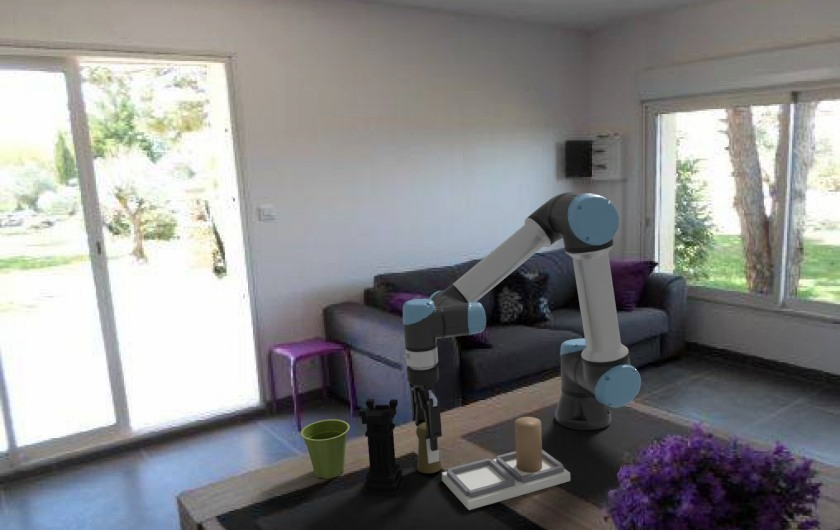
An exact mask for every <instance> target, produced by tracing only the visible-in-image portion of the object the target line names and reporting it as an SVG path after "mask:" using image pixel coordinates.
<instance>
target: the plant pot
mask: <svg viewBox="0 0 840 530" xmlns="http://www.w3.org/2000/svg"><path fill="white" fill-rule="evenodd" d="M350 428H351V427H350V424H349V423H348V422H347V421H344V420H341V419H324V420H319V421H315V422H312V423H309V424H308V425H306V426H305V427H303V428H302V429H301V431H300V435H301V437H302V438H303V440H304V443H305V445H306V447H307V451H308V454H309V458H310V460H311V465H312V468H313V472H314V475H315V477H317V478H322V479H326V480H327V479H332V478H336V477H339V476H340V475H341V474H342V473H344V471H345V464H346V463H345V460H346V448H347V447H346V446H347V439H348V438H347V437H348V432H349V430H350Z"/></svg>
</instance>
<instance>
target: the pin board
mask: <svg viewBox="0 0 840 530" xmlns="http://www.w3.org/2000/svg"><path fill="white" fill-rule="evenodd" d="M514 432H515V434H514V435H515V450H514V451H511V452H506V453H504V454H499V455H496V456H495V458H493V459H491V458H490V457H488V458H483V459H479V460H476V461H473V462H472V461H471V462H469V463H464V464H461V465H457V466H456V465H455V466H453V467H449V468H447V469H446V471H442V472H441V482H443V483H444V484H445V485H446V487H447V488H448V489H449V490H450V491H451V492H452V494H453V495H455V497H456V498H457V499H458V500H459V501H460V502H461V503H462V504H463V505H464V507H465V508H466V509H467V510H468V511H471V510H474V509H478V508H481V507H484V506H487V505H492V504H496V503H498V502H502V501H505V500H506V501H507V500H509V499H512V498H516V497H520V496H523V495H526V494H530V493H534V492H536V491H540V490H544V489H547V488H551V487H554V486H557V485H560V484H564V483H567V482H571V472H570V471H568V470H567V469H566V468H565V466H564V464H563V463H562V462H561V461H559V460H558V459H556V458H554V457H553V456H552V455H550V454H549V453H548V452H547V451H545V450H544V449H543V446H542V445H543V443H542V442H543V441H542V439H543V438H542V421H541V420H540V419H539V418H537V417H534V416H533V417H532V416H523V417H519V418H517V419H515V421H514Z"/></svg>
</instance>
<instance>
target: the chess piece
mask: <svg viewBox="0 0 840 530" xmlns="http://www.w3.org/2000/svg"><path fill="white" fill-rule="evenodd" d="M388 403H389V404H376V403H375V398H367V399H366V401H365V407H366V408H365V407H364V408H363V407H362V408H360V409H358V417H360V418H361V425H366V430H365V433H364V436H365V438H367V448H368V460H369V463H368V464H369V471H368V473H366V474H367V475H365V476H366V477H365V482H364V487H363V490H362V496H363V495H365V496H381V497H382V496H383V497H398V495H399V493H400V490H401V488H402V487H403V484H404V482H405V479H406V477H405V475H403V469H400V468H401V464H398V463H396V451H395V440H394V439H395V438H394V437H395V436H394V429H395V428H396V424H395V423H393V422H394V421H393V420H394V418H395V416H396V415H397V406H398V405H399V401H398V399H390V400H389V402H388ZM403 481H404V482H403Z"/></svg>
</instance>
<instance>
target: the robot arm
mask: <svg viewBox="0 0 840 530" xmlns="http://www.w3.org/2000/svg"><path fill="white" fill-rule="evenodd" d="M619 225H620V216H619V213H618V210H617V207H616V206H615V205H614V203H613V202H612V201H611V200H609V199H608V198H606V197H604V196H602V195H599V194H596V193H590V192H585V193H584V192H581V193H580V192H563V193H560V194H557V195H555V196H554V197H551V198H550V199H548V200H547V201H546V202H545V203H544V204H541V206H539V207H538V208H537V209H535V210H534V211H533V212H532V213H531V214H530V215H529V216H527V217H526V218H525V219H524V224H523V225H522V226H521V227H520V228H518V230H516V231H515V232H513V234H511V235H510V236H509V237H508V238H506V239H505V240H504V241H503V242H502V243H500V244H499V245H498V246H497V247H496V248H495V249H493V250H492V251H491V252H490V253H488V254H487V255H486V256H484V258H482V259H481V260H480V261H479V262H478V263H476V264H475V265H474V266H473V267H471V268H470V269H469V270H468V271H467V272H465V273H464V274H463V275H461V277H459V278H458V279H457V280H456V281H455V282H453V283H452V284H450V285H449V286H448V287H447V288H445V289H444V290H438V291H435V292H433V294H431V295H430V297H429V298H413V299H410V300H407V301H405V302H404V303H403V305H402V325H403V326H402V327H403V335H404V337H403V338H404V349H405V354H403V357H404V358H405V362H406V363H405V364H406V365H407V366H406V377H407V378H406V379H407V383H409V384H408V385H409V390H410V400H411V402H410V403H411V416H412V417H411V419H412V421H413V422H414V424H415V426H416V428H417V427H418V425H420V424H421V423H426V429H427V435H428V436H425V439H426V444H427V458H428V463H429V464H430V463H433V462H437V461H439V455H440V450H439V448H440V447H439V438H441V437H443V433H442V420H441V417H442V416H441V407H440V406H441V397H440V396H437V397H436V391H435V388H434V384H435V383H437V382H438V381H439V379H440V372H439V371H440V370H439V365H438V363H439V355H438V344H437V341H438V339H445V338H454V337H463V336H472V335H475V334H480V333H482V332H484V331H485V329H486V326H487V316H486V311H485V308H484V306H483V304H482V303H480V302H479V300H480V299H482V298H483V297H484V296H486V294H487V293H489V292H490V291H491V290H492V289H494V288H496V286H498V285H499V284H500V283H501V282H502V281H503V280H504V279H506V278H508V276H510V275H511V274H512V273H513V272H515V271H516V270H517V269H518V268H519V267H520V266H521V265H523V264H524V263H525V262H526V261H528V260H529V259H530V258H531V257H533V255H534V256H535V254H536V253H537V252H539V251H540V250H541V249H542V248H550V247H551V246H552V245H553V244H555V243H556V242H557V241H560V240H563V241H562V242H563V245H564V246H563V247H564V252H565V254H567V255H568V256H570V257H571V258H572V263H573V270H574V277H575V282H576V283H575V284H576V290H577V295H578V302H579V310H580V316H581V321H582V327H583V334H584V335H583V336H584V337H583V338H574V339H569V340H565V341H564V342H562V343H561V345H560V353H559V356H560V385H561V386H560V388H561V390H560V395H559V399H558V402H557V406H556V408H555V420H556V422H557V423H558V424H559V425H560V426H562V427H566V428H568V429H572V430H579V431H596V430H601V429H604V428H606V427H608V426H610V424H611V422H612V413H611V410H610V408H620V407H625V406H626V405H628V404H630V403H631V402H632V401H633V400H634V399H635V397H636V396H637V395H638V394H639V392H640V389H641V386H642V378H641V375H640V373H639V371H638V370H637V369H636V368H635V366H633V365H631V359H630V352H629V348H628V347H627V346H625V345H624V344H622V341H621V335H620V333H621V332H620V328H619V321H618V314H617V313H618V312H617V306H616V300H615V299H616V298H615V291H614V286H613V285H614V284H613V277H612V270H611V263H610V255H609V252H610V251H611V250H612V249H613V247H615V245H614V237H615V236H616V232H618V230H619ZM416 437H417V436H416ZM418 447H419V438H418V437H417V448H418Z"/></svg>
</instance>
